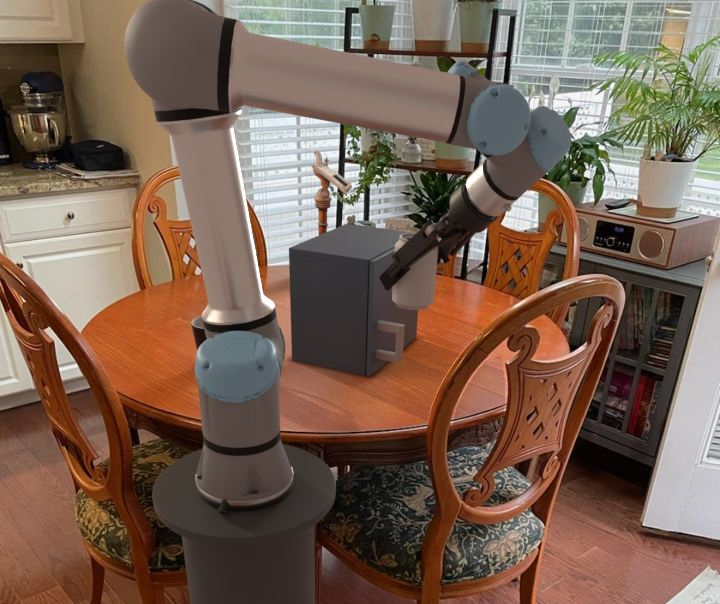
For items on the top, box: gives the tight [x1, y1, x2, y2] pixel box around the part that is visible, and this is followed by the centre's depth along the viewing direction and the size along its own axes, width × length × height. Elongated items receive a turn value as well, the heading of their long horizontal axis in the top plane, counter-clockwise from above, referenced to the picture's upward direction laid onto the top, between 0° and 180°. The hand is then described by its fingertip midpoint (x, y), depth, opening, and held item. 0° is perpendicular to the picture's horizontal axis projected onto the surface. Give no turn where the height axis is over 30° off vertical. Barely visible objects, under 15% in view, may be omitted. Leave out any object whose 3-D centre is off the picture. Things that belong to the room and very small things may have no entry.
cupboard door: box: [365, 248, 419, 377], centre depth 154 cm, size 7×26×24 cm, turn 154°
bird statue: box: [311, 149, 354, 236], centre depth 206 cm, size 17×13×35 cm
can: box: [392, 232, 438, 311], centre depth 124 cm, size 8×8×12 cm
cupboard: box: [288, 223, 414, 377], centre depth 158 cm, size 18×26×24 cm
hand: (399, 279), depth 127 cm, fingers closed on can, 7 cm apart
